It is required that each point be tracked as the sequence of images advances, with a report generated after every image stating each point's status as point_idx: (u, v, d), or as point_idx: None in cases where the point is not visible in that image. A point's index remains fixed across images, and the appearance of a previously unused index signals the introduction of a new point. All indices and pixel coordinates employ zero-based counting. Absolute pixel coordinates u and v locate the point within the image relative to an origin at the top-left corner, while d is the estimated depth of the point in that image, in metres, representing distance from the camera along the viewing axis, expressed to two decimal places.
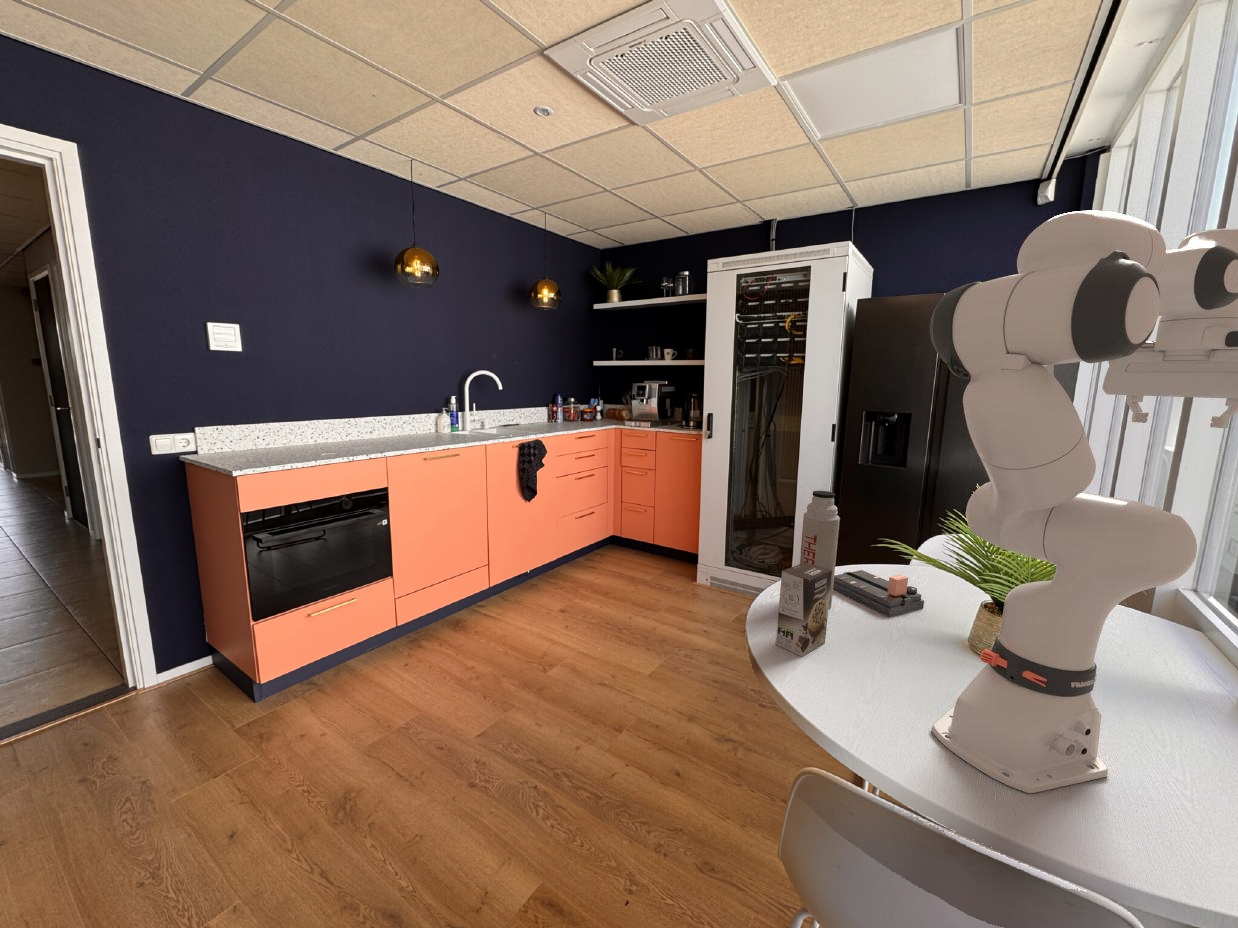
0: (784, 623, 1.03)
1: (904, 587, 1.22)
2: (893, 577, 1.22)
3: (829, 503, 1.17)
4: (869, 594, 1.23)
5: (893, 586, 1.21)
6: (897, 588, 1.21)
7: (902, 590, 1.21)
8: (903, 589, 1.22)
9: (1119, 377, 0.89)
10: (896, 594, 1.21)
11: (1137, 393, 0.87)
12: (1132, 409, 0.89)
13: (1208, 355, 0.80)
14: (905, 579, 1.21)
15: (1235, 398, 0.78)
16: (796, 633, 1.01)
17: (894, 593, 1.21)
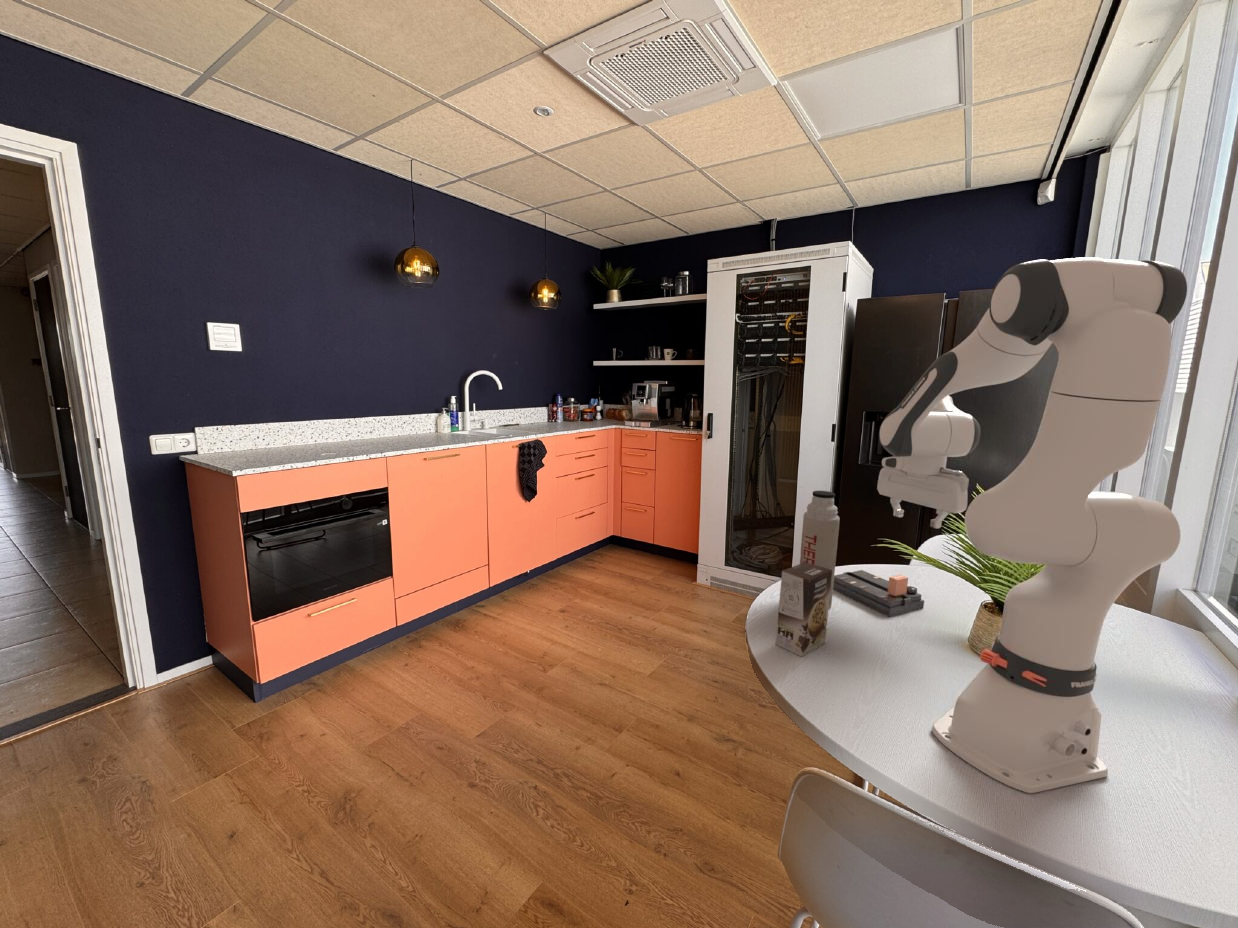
0: (784, 623, 1.03)
1: (904, 587, 1.22)
2: (893, 577, 1.22)
3: (829, 503, 1.17)
4: (869, 594, 1.23)
5: (893, 586, 1.21)
6: (897, 588, 1.21)
7: (902, 590, 1.21)
8: (903, 589, 1.22)
9: None
10: (896, 594, 1.21)
11: None
12: (942, 518, 1.15)
13: None
14: (905, 579, 1.21)
15: None
16: (796, 633, 1.01)
17: (894, 593, 1.21)
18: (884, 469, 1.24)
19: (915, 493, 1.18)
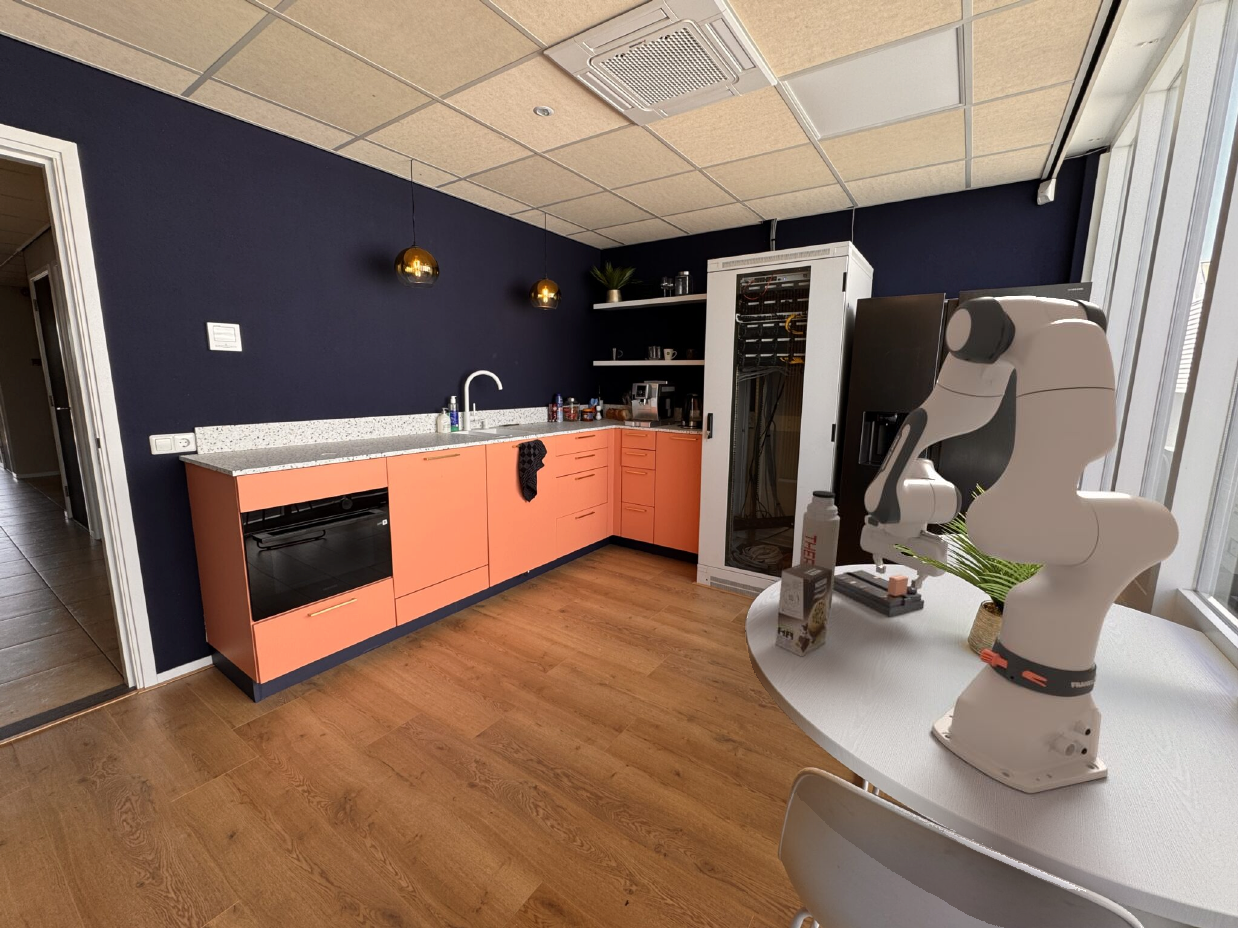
0: (784, 623, 1.03)
1: (904, 587, 1.22)
2: (893, 577, 1.22)
3: (829, 503, 1.17)
4: (869, 594, 1.23)
5: (893, 586, 1.21)
6: (897, 588, 1.21)
7: (902, 590, 1.21)
8: (903, 589, 1.22)
9: None
10: (896, 594, 1.21)
11: None
12: None
13: None
14: (905, 579, 1.21)
15: None
16: (796, 633, 1.01)
17: (894, 593, 1.21)
18: (866, 526, 1.26)
19: (896, 553, 1.20)
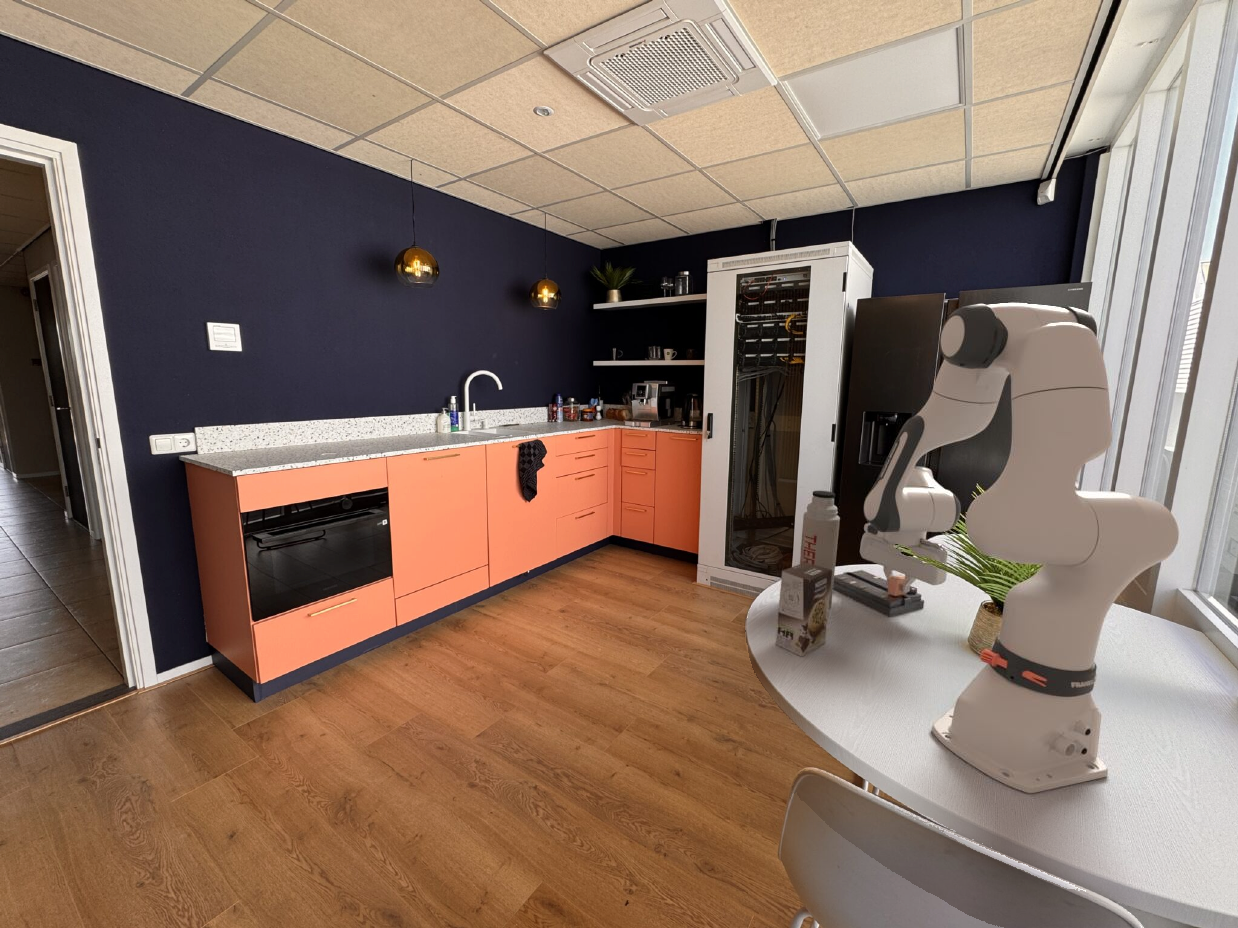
0: (784, 623, 1.03)
1: None
2: (893, 577, 1.22)
3: (829, 503, 1.17)
4: (869, 594, 1.23)
5: (893, 586, 1.21)
6: (897, 588, 1.21)
7: None
8: None
9: None
10: (896, 594, 1.21)
11: None
12: None
13: None
14: (905, 579, 1.21)
15: None
16: (796, 633, 1.01)
17: (894, 593, 1.21)
18: (866, 534, 1.26)
19: (896, 561, 1.20)
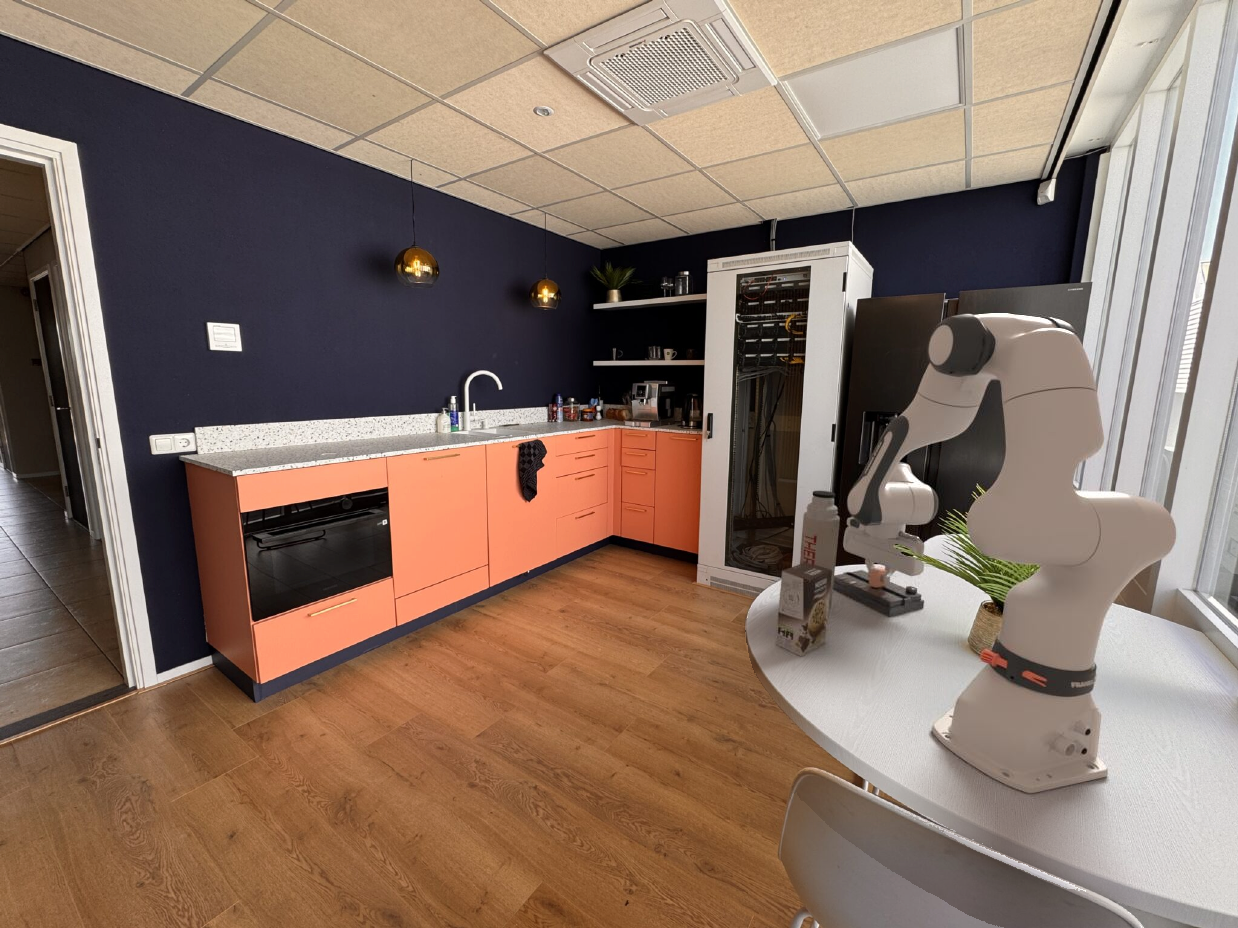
0: (784, 623, 1.03)
1: None
2: (874, 569, 1.26)
3: (829, 503, 1.17)
4: (869, 594, 1.23)
5: (874, 578, 1.26)
6: (878, 580, 1.25)
7: (882, 582, 1.26)
8: None
9: None
10: (877, 586, 1.26)
11: None
12: None
13: None
14: (885, 571, 1.26)
15: None
16: (796, 633, 1.01)
17: (875, 585, 1.25)
18: (849, 528, 1.31)
19: (877, 554, 1.25)
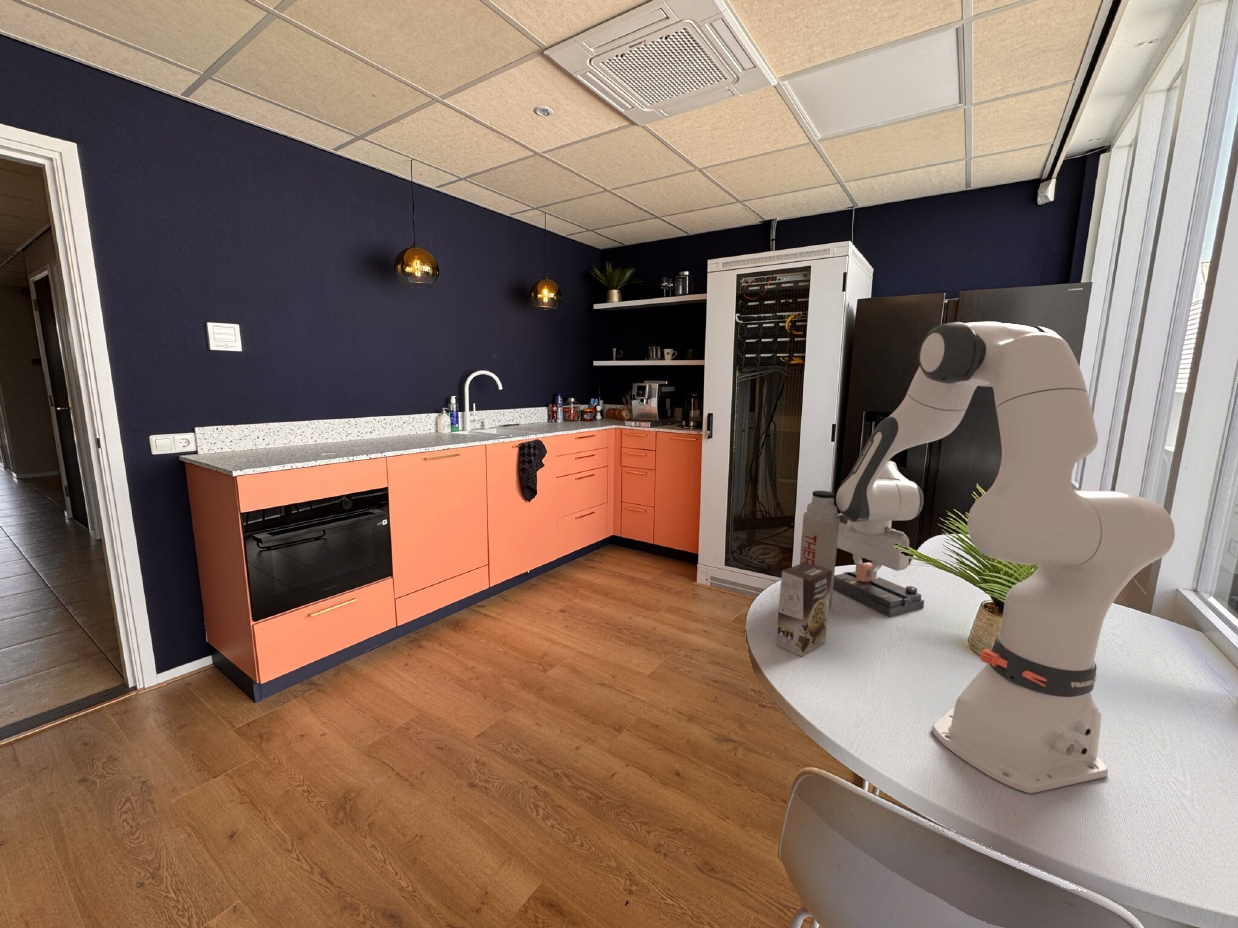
0: (784, 623, 1.03)
1: None
2: (861, 564, 1.30)
3: (829, 503, 1.17)
4: (869, 594, 1.23)
5: (861, 573, 1.29)
6: (865, 575, 1.29)
7: None
8: None
9: None
10: (864, 580, 1.29)
11: None
12: None
13: None
14: (872, 566, 1.29)
15: None
16: (796, 633, 1.01)
17: (862, 579, 1.29)
18: None
19: (864, 549, 1.28)
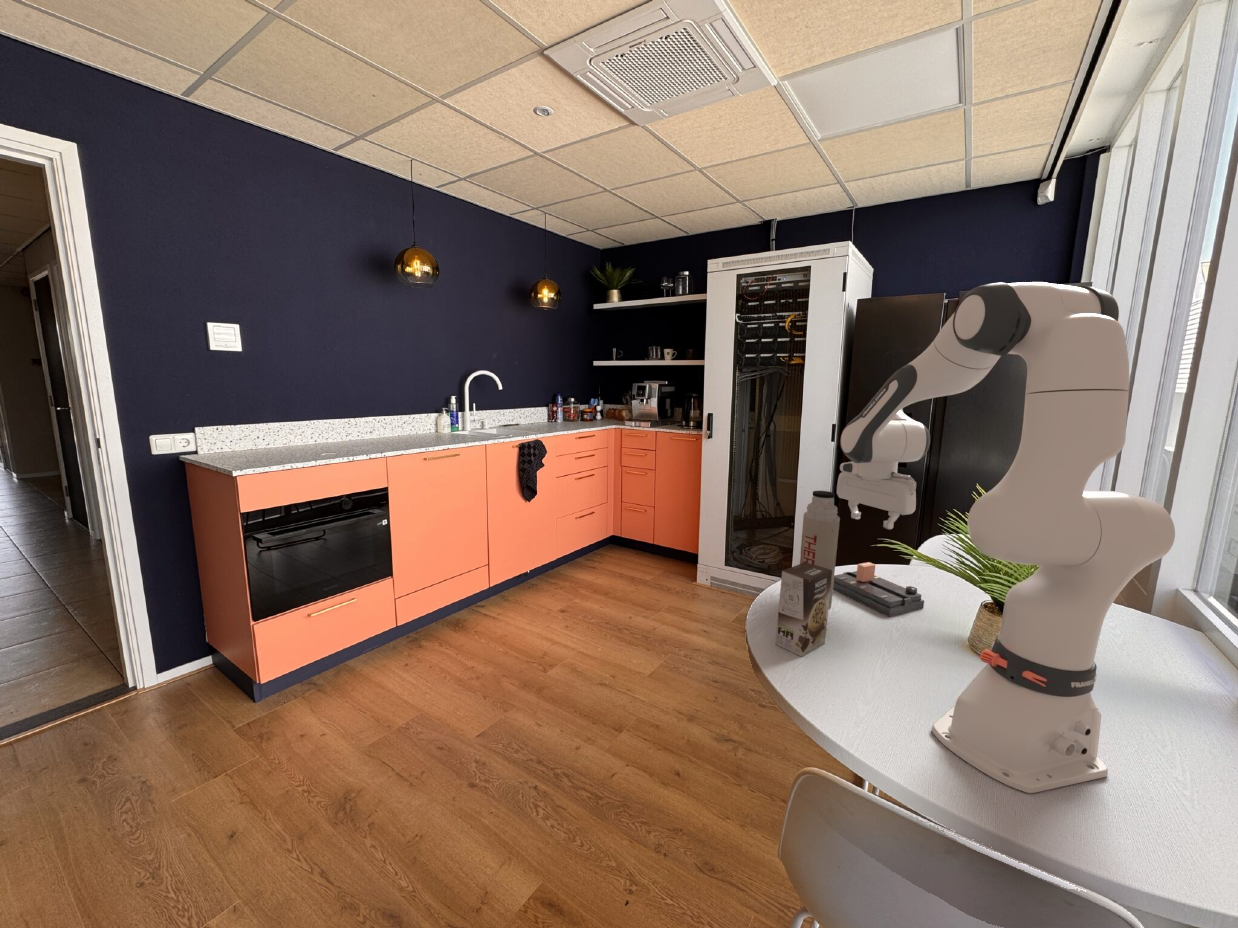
0: (784, 623, 1.03)
1: (872, 573, 1.30)
2: (861, 564, 1.30)
3: (829, 503, 1.17)
4: (869, 594, 1.23)
5: (861, 573, 1.29)
6: (865, 575, 1.29)
7: (869, 576, 1.30)
8: (870, 575, 1.30)
9: None
10: (864, 580, 1.29)
11: None
12: None
13: None
14: (872, 566, 1.29)
15: None
16: (796, 633, 1.01)
17: (862, 579, 1.29)
18: (842, 474, 1.32)
19: (869, 496, 1.26)
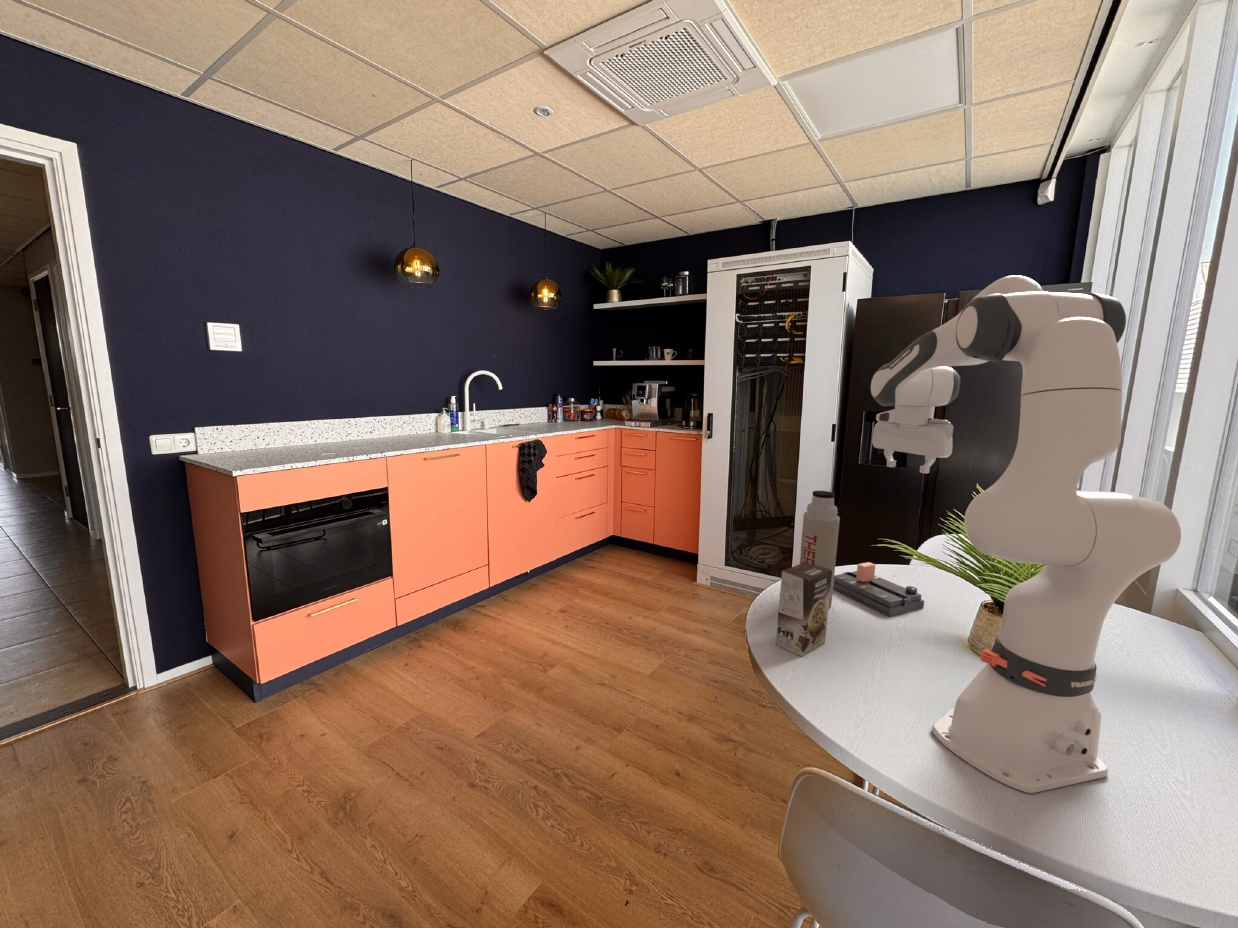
0: (784, 623, 1.03)
1: (872, 573, 1.30)
2: (861, 564, 1.30)
3: (829, 503, 1.17)
4: (869, 594, 1.23)
5: (861, 573, 1.29)
6: (865, 575, 1.29)
7: (869, 576, 1.30)
8: (870, 575, 1.30)
9: None
10: (864, 580, 1.29)
11: None
12: (930, 464, 1.28)
13: None
14: (872, 566, 1.29)
15: None
16: (796, 633, 1.01)
17: (862, 579, 1.29)
18: (878, 424, 1.37)
19: (906, 443, 1.31)
